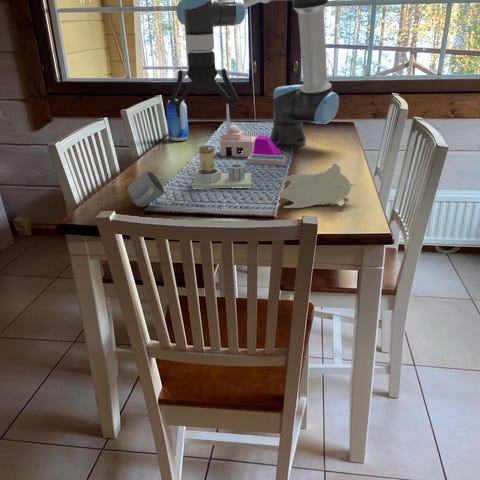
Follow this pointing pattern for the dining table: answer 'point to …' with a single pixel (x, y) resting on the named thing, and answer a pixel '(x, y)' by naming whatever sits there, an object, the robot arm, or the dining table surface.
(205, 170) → the cylinder
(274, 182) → the dining table surface
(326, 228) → the dining table surface
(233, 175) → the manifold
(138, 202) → the ceramic mug
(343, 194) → the beige lumpy piece
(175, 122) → the beer can
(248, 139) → the model house
